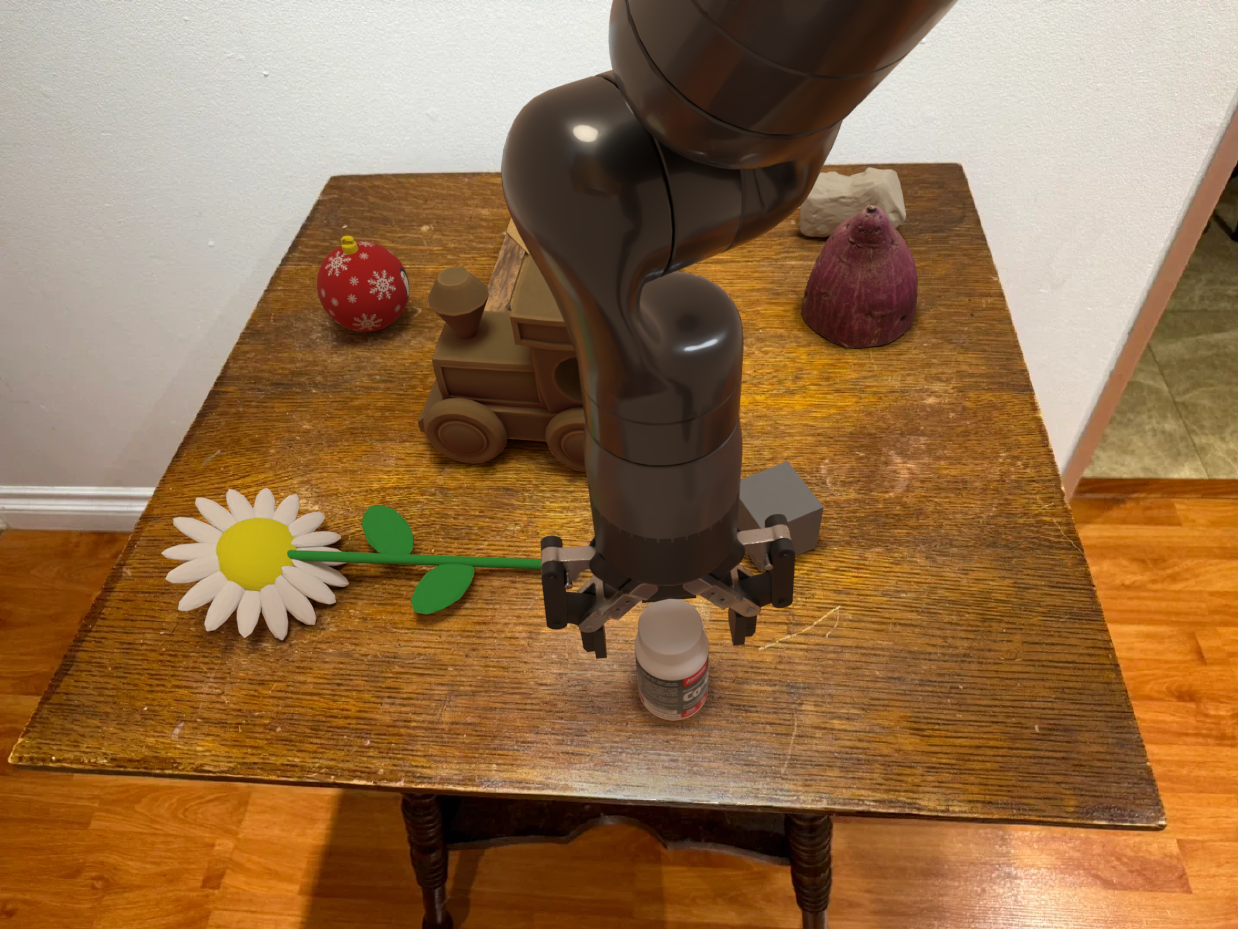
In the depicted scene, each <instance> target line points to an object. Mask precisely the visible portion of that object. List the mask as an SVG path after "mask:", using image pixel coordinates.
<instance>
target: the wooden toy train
mask: <svg viewBox="0 0 1238 929" xmlns="http://www.w3.org/2000/svg"><path fill="white" fill-rule="evenodd" d="M488 297H489V293H488V285H487V284H486V283H485V282H483V281H482V280H481V279H479V278H478V277H477V276H475V275H474V274H473V273H471V272H470V271H469V270H468V269H466V268H465V267H463V266H462V267H461V266H451V267H446V268H445V269H443V270H440V272H439V273H438V275H437V276H436V278H435V281H434V283H433V285H432V287H431V289H430V291H429V293H428V297H427V298H428V306H429V307H430V309H432V311H434V312H435V313H436V314H437V316H438V317H439V318H440V319H442V320H443V321H444V325H443V328H442V330H441V332H440V334H439V336H438V340H437V342H436V345H435V347H434V351H433V353H432V357H431V363H432V369H433V373H434V376H435V380H434V382H433V385H432V387H431V389H430V392H429V395H428V397H427V399H426V401H425V404H424V406H423V408H422V411H421V413H420V416H419V417H418V420H417V425H418V428H419V431H420V432H421V433H424V434H425V436H426V438H427V440H428V442H429V443H430V444H431V445H432V446H433V447H434V448H435V449H436V450H437V451H438V452H439V453H440V454H442V455H444V456H445V457H447V458H449V459H452V460H454V461H457V462H461V463H466V464H481V463H482V464H483V463H485V462H489V461H492V460H493V459H495V458H496V457H497V456H498V455H500V454H501V453H503V451H504V449H505V447H506V446H507V439H508V440H509V439H511V440H522V441H523V440H524V441H536V442H537V441H538V442H545V443H546V444H547V447H548V449H549V451H550V453H551V454H552V455H553V456H554V458H555V459H556V460H557V461H558V462H560V463H561V464H563V465H565V466H566V467H567V468H570V469H572V470H574V471H577V472H583V473H586V470H585V465H584V448H583V445H584V428H585V418H584V409H583V401H582V393H581V386H580V378H579V371H578V363H577V358H576V354H575V350H574V347H573V344H572V341H571V339H570V336H569V333H568V330H567V328H566V325H565V322H564V320H563V318H562V315H561V313H560V311H559V308H558V306H557V304H556V301H555V299H554V297H553V295H552V293H551V291H550V289H549V287H548V285H547V283H546V281H545V280H544V278H543V276H542V274H541V273H540V271H539V269H538V267H537V266H536V264H535V262H534V260H533V259H532V257H531V255H529V256H528V259H527V261H526V264H525V267H524V269H523V272H522V275H521V277H520V280H519V283H518V285H517V288H516V292H515V296H514V301H513V305H512V309H511V312H494V311H484V309H485V306H486V303H487V300H488Z"/></svg>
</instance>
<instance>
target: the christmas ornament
mask: <svg viewBox="0 0 1238 929" xmlns="http://www.w3.org/2000/svg"><path fill="white" fill-rule="evenodd" d="M340 243H341V245H339V246H337V247H336V248H334V249H333V250H331V252H329V253H328V255H327V256H325V258H324V259H323V261H322V262H321V265H320V267H319V270H318V273H317V276H316V292H317V296H318V299H319V303H320V304H321V306H322V308H323V310H324V311H325V312H326V314H327V315H328V316H329V317H330V318H331V319H332V320H333V321H334V322H336V323H337V324H338V325H340V326H342V327H344V328H345V329H348V330H351V331H354V332H360V333H371V332H377V331H381V330H383V329H385V328H388V327H389V326H391V325H392V324H394V322H396V321H397V320H398V319H399V318H400V317H401V316H402V314H403V313H404V311H405V309H406V307H407V305H408V302H409V297H410V281H409V277H408V276H409V275H408V272H407V271H406V268H405V266H404V265H403V263H402V262H401V260H400V259H399V258H398V257H397V256H396V255H395V254H394V253H393V252H392V251H390V250H389V249H388V248H386V247H385V246H382V245H380V244H378V243H375V242H372V241H366V240H365V241H364V240H356V241H355V238H354V236H352V235H343V236H342V237H341V238H340Z"/></svg>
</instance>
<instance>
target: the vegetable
mask: <svg viewBox="0 0 1238 929" xmlns="http://www.w3.org/2000/svg"><path fill="white" fill-rule="evenodd" d="M918 280H919V279H918V270H917V265H916V261H915V259H914V256H913V254H912V252H911V250H910V248H909V247H908V244H907V243H906V241H905V239H904V238H903V235H901V233H900V232H899V231H898V229H897V228H896V229H895V228H894V227H893V226H892V224H891V223H890V221H889V219H888V217H887V215H886V213H885V212H884V211H883V210H882V209H881V208H879V207H878V206H872V205H868V206H867V207H865V208H864V209H862V210H861V211H859V212H858V213H857V214H855V215H854V216H852V217H850V218H848V219H847V220H846V221H844V222H842V223H841V224H840V225H839V226H838V227H837V228H836V229H835V230H834V232H833V233H832V234H831V235H830V236H828V238H827V240H826V241H825V243H824V245H823V247H822V248H821V251H820V252H819V254H818V256H817V257H816V259H815V261H814V264H813V267H812V269H811V272H810V274H809V276H808V280H807V282H806V283H807V284H806V286H805V289H804V294H803V298H802V304H801V309H800V310H801V311H800V314H801V316H802V320H803V322H805V323H806V324H807V326H808V327H809V328H811V329H812V330H813V331H815V332H816V333H817V334H819V335H820V336H821V337H823V338H824V339H826V340H827V341H830V343H833V344H835V345H836V344H837V345H839V346H841V347H843V348H851V349H857V348H858V349H863V348H868V347H869V348H871V347H877V346H883V345H886V344H890V343H892V342H894V341H896V340H897V339H899V337H901V336H903V334H904V333H905V332H906V331H908V330H909V329H910V328H912V325H913V323H914V320H915V314H916V309H917V303H918V302H917V301H918V288H919V287H918V286H919V285H918V284H919V282H918Z"/></svg>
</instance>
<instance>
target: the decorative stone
mask: <svg viewBox="0 0 1238 929" xmlns="http://www.w3.org/2000/svg"><path fill="white" fill-rule="evenodd" d="M868 205H872V206H878V207H879V208H881V209H882V210H883V211H884V212H885V213H886V215H887V217H888V219H889V221H890V223H891V224H892V226H893V227H894V228H895V229H896V230H897V228H899V226H900V225H901V224H903V223H904V222H905V221H906V219H907V212H906V207H905V200H904V194H903V190H902V186H901V181H900V178H899V176H898V173H897V171H896V170H894V169H890V168H889V169H887V168H886V169H880V168H875V167H871V166H870V167H867V168H865V170H864V171H863V172H859V173H854V174H851V175H849V176H848V175H844V174H841V173H839V172H838V171H836V170H835V171H828V172H820V174H819V176H818V178H817V181H816V183H815V185H814V187H813V189H812V191H811V192H810V194H809V195H808V197H807V199H806V200H805V201H804V202H803V203H802V205H801V206H800V207H799V208H800V209H799V212H800V213H799V231H800V233H801V234H802V235H804V236H807V237H810V238H813V237H814V238H815V237H818V238H827V237H828V238H829V237H830V235H831V234H832V233H833V232H834V230H835V229H836V228H837V227H838V226H839V225H840V224H841V223H842V222H844V221H846V220H847V219H848V218H850V217H852V216H854V215H855V214H857V213H858V212H859V211H861V210H862V209H864V208H865V207H867V206H868Z"/></svg>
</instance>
